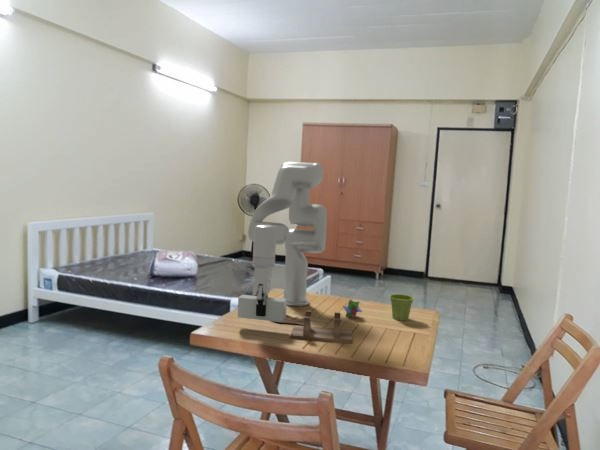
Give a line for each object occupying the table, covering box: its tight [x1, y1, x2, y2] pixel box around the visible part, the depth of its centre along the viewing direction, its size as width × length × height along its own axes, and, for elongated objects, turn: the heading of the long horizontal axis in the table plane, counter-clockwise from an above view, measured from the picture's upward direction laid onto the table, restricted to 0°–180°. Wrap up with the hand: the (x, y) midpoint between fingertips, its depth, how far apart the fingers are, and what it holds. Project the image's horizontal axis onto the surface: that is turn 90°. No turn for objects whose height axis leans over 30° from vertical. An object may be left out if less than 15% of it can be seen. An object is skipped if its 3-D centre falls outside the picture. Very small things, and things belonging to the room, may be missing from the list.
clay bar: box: [237, 294, 287, 323], centre depth 163 cm, size 4×16×7 cm, turn 79°
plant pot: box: [389, 293, 415, 321], centre depth 187 cm, size 9×9×9 cm
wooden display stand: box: [289, 309, 353, 344], centre depth 160 cm, size 11×20×7 cm, turn 85°
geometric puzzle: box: [342, 299, 363, 320], centre depth 185 cm, size 7×7×8 cm
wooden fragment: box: [277, 314, 304, 326], centre depth 177 cm, size 26×11×1 cm, turn 59°
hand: (261, 313), depth 163 cm, fingers closed on clay bar, 4 cm apart
